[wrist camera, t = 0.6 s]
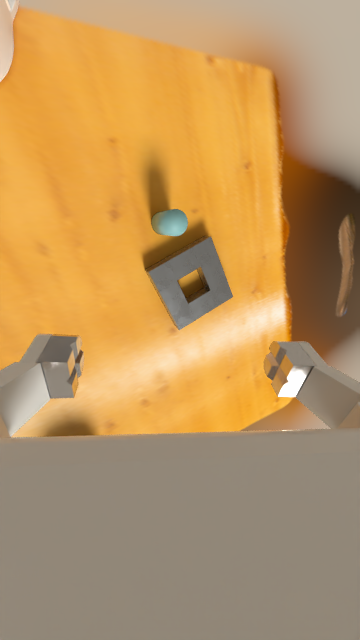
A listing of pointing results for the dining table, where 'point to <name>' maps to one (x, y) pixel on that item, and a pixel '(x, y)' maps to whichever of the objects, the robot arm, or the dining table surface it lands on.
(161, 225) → the teal peg
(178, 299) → the socket block
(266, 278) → the dining table surface
